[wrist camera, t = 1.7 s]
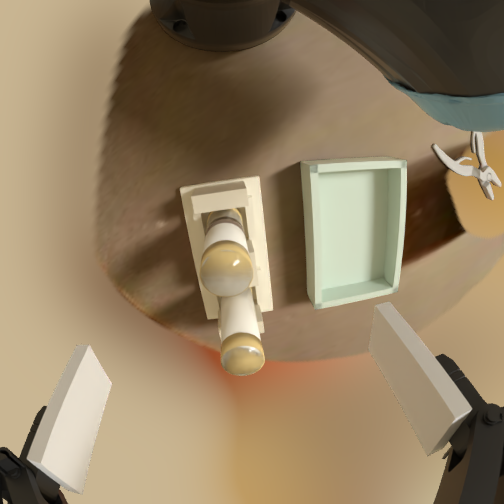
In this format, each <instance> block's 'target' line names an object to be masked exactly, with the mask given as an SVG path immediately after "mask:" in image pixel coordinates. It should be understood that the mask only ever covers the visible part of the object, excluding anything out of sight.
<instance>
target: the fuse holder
mask: <svg viewBox="0 0 504 504" xmlns="http://www.w3.org/2000/svg"><path fill="white" fill-rule="evenodd" d="M180 193H181V198H182V204H183V209H184V214H185V219H186V224H187V229H188V234H189V239H190V244H191V249H192V254H193V258H194V263H195V267H196V272H197V276H198V281H199V285H200V289H201V294H202V298H203V302H204V306H205V310H206V314H207V318H208V319H216V318H218V330H219V334H220V338H221V297H220V296H216V295H214V294H212V293H210V292H209V291H208V290H207V289H206V288H205V287H204V286H203V284H202V282H201V280H200V265H201V258H202V255H203V249H204V243H205V235H206V230H207V220H208V215H209V213H210V212H212V211H218V210H225V209H232V208H237V209H238V210H239V211H240V213H241V217H242V221H243V228H244V232H245V237H246V242H247V247H248V252H249V255H250V258H251V262H252V267H253V279H252V282H251V284H250V285H249V287H251V289H252V296H253V302H254V307H255V313H256V318H257V323H258V329H259V333H264V325H263V319H262V314H261V312H265V311H271V310H273V304H272V294H271V284H270V274H269V264H268V254H267V244H266V235H265V226H264V216H263V207H262V198H261V189H260V180H259V176H258V175H257V176H249V177H242V178H234V179H227V180H220V181H214V182H207V183H201V184H195V185H189V186H183V187H180Z"/></svg>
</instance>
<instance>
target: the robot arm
mask: <svg viewBox="0 0 504 504" xmlns="http://www.w3.org/2000/svg"><path fill="white" fill-rule="evenodd" d="M150 5H151V9H152V12H153V14H154V16H155V18H156V19H157V21H158V23H159V24H160V26H161V27H162V28H163V29H164V31H165V32H166V33H167V34H169V35H170V36H171V37H172V38H174V39H175V40H177V41H179V42H181V43H183V44H185V45H187V46H190V47H193V48H197V49H201V50H207V51H218V52H225V51H237V50H242V49H247V48H251V47H254V46H257V45H259V44H262V43H264V42H266V41H268V40H270V39H271V38H273V37H274V36H276V35H277V34H278V33H280V32H281V31H282V30H283V29H284V28H285V27H286V26H287V25H288V23H289V22H290V20H291V19H292V17H293V16H294V14H295V13H296V11H298V12H300V13H302V14H304V15H305V16H307V17H308V18H310V19H312V20H313V21H315V22H316V23H318V24H319V25H321V26H322V27H324V28H325V29H327V30H328V31H330V32H331V33H333V34H334V35H336V36H337V37H338V38H340V39H341V40H343V41H344V42H345V43H347V44H348V45H349V46H351V47H352V48H353V49H354V50H356V51H357V52H358V53H359V54H361V55H362V56H363V57H364V58H365V59H367V60H368V61H369V62H370V63H371V64H372V65H374V66H375V67H376V68H377V69H378V70H379V71H380V72H381V73H383V76H384V77H385V78H386V79H387V80H388V82H389V83H390V84H391V85H392V86H394V87H395V88H396V89H398V90H400V91H401V92H403V93H405V94H407V95H408V96H409V97H410V98H411V99H412V100H413V101H414V102H415V103H416V104H417V105H418V106H419V107H420V108H421V109H422V110H423V111H425V112H426V113H427V114H428V115H429V116H431V117H432V118H433V119H435V120H437V121H438V122H440V123H442V124H445V125H451V126H454V127H456V128H459V129H461V130H465V131H474V132H491V131H500V130H504V0H150ZM368 350H369V352H370V353H371V355H372V357H373V359H374V360H375V362H376V364H377V365H378V367H379V369H380V371H381V372H382V374H383V376H384V377H385V379H386V381H387V383H388V384H389V386H390V388H391V390H392V391H393V393H394V395H395V397H396V398H397V400H398V402H399V404H400V406H401V408H402V409H403V411H404V413H405V415H406V417H407V419H408V421H409V422H410V424H411V426H412V428H413V430H414V432H415V434H416V436H417V437H418V439H419V441H420V443H421V445H422V447H423V449H424V451H425V453H426V455H427V456H429V455H431V454H433V453H435V452H437V451H439V450H440V449H442V448H443V447H444V446H445V445H446V444H447V443H448V441H449V442H450V444H451V445H452V446H451V447H450V448H449V450H448V451H447V452H446V453H445V454H444V456H443V458H442V459H445V458H446V457H447V456H448V459H447V462H446V466H445V470H444V473H443V477H442V480H441V483H440V486H439V489H438V492H437V495H436V498H435V501H434V504H504V407H499V406H498V405H496V404H487V403H486V402H485V401H484V400H483V399H482V397H481V396H480V394H479V393H478V392H477V391H476V389H475V388H474V386H473V385H472V384H471V383H470V381H469V380H468V379H467V378H466V377H465V375H464V374H463V372H462V371H461V370H460V368H459V367H458V366H457V365H456V363H455V362H454V361H453V360H452V359H450V358H449V357H447V356H446V355H444V354H441V355H439V356H436V357H434V356H433V354H432V353H431V352H430V350H429V349H428V348H427V347H426V345H425V344H424V343H423V342H422V340H421V339H420V338H419V337H418V335H417V334H416V333H415V332H414V330H413V329H412V328H411V327H410V326H409V324H408V323H407V322H406V321H405V319H404V318H403V317H402V316H401V315H400V313H399V312H398V311H397V310H396V309H395V308H394V306H393V305H392V304H391V303H390V302H386V303H382V304H378V305H375V309H374V316H373V323H372V330H371V336H370V343H369V348H368ZM111 386H112V383H111V382H110V380H109V378H108V377H107V375H106V373H105V372H104V370H103V368H102V366H101V365H100V363H99V361H98V359H97V358H96V356H95V354H94V352H93V351H92V348H91V347H90V345H77V346H76V348H75V350H74V352H73V354H72V356H71V358H70V360H69V361H68V363H67V365H66V368H65V369H64V371H63V373H62V376H61V378H60V380H59V382H58V384H57V386H56V388H55V390H54V392H53V395H52V397H51V399H50V401H49V404H48V406H43V407H42V409H41V410H40V411H39V412H38V413H37V415H36V417H35V420H34V422H33V425H32V427H31V429H30V432H29V434H28V437H27V439H26V442H25V444H24V447H23V449H22V452H21V455H20V457H19V458H17V456H15V455H14V454H13V453H12V452H11V451H10V450H9V449H8V448H5V447H1V448H0V504H3V499H5V500H6V501H7V502H8V504H68V503H67V501H66V499H65V497H64V495H63V493H62V492H61V490H59V488H60V485H61V486H62V487H64V488H65V489H66V490H68V491H71V492H74V493H78V494H83V490H84V485H85V481H86V476H87V472H88V467H89V463H90V459H91V455H92V451H93V447H94V443H95V439H96V436H97V432H98V429H99V425H100V422H101V418H102V415H103V411H104V408H105V405H106V402H107V398H108V395H109V392H110V389H111ZM2 498H3V499H2Z"/></svg>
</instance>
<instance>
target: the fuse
mask: <svg viewBox="0 0 504 504" xmlns="http://www.w3.org/2000/svg"><path fill="white" fill-rule="evenodd" d="M264 362H265V357H264V352H263V347H262V343H261V339H260V334H259V329H258V323H257V318H256V313H255V307H254V302H253V296H252V289H251V287H248V288H247V289H246V290H245V291H244V292H242V293H241V294H239V295H236V296H232V297H221V365H222V367H223V368H224V369H225V370H226V371H227V372H228V373H230V374H233V375H238V376H239V375H240V376H245V375H250V374H253V373H255V372H257V371H258V370H259V369H260V368H262V366H263V365H264Z"/></svg>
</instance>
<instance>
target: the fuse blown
mask: <svg viewBox="0 0 504 504" xmlns="http://www.w3.org/2000/svg"><path fill="white" fill-rule="evenodd" d="M252 279H253V267H252V262H251V258H250V255H249V252H248V247H247V242H246V237H245V232H244V228H243V221H242V217H241V213H240V211H239V210H238V209H237V208H232V209H225V210H218V211H212V212H210V213H209V215H208V220H207V230H206V235H205V243H204V249H203V255H202V258H201V265H200V280H201V282H202V284H203V286H204V287H205V288H206V289H207V290H208V291H209V292H210V293H212V294H214V295H216V296H220V297H232V296H236V295H239V294H241V293H242V292H244V291H245V290H246V289H247V288H248V287H249V285H250V284H251V282H252Z"/></svg>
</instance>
